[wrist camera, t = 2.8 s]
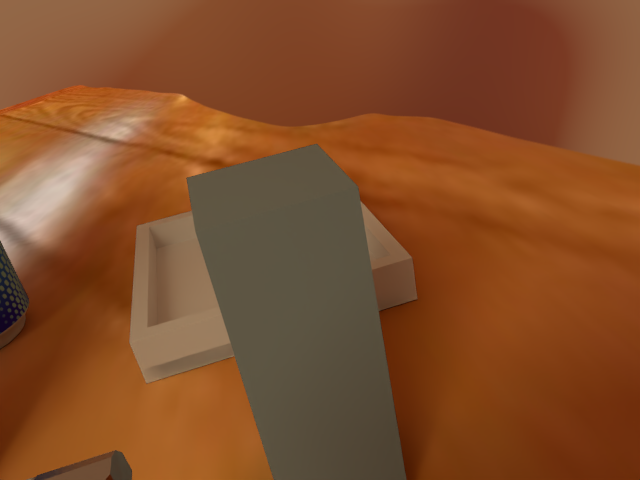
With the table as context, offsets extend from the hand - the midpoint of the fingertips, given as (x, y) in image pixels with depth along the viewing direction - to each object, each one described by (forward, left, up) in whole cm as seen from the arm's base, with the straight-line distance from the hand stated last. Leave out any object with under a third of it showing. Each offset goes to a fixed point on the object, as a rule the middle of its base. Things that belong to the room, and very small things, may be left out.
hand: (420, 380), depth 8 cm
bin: (0, +31, -15) cm, 35 cm away
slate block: (0, +12, -15) cm, 19 cm away
